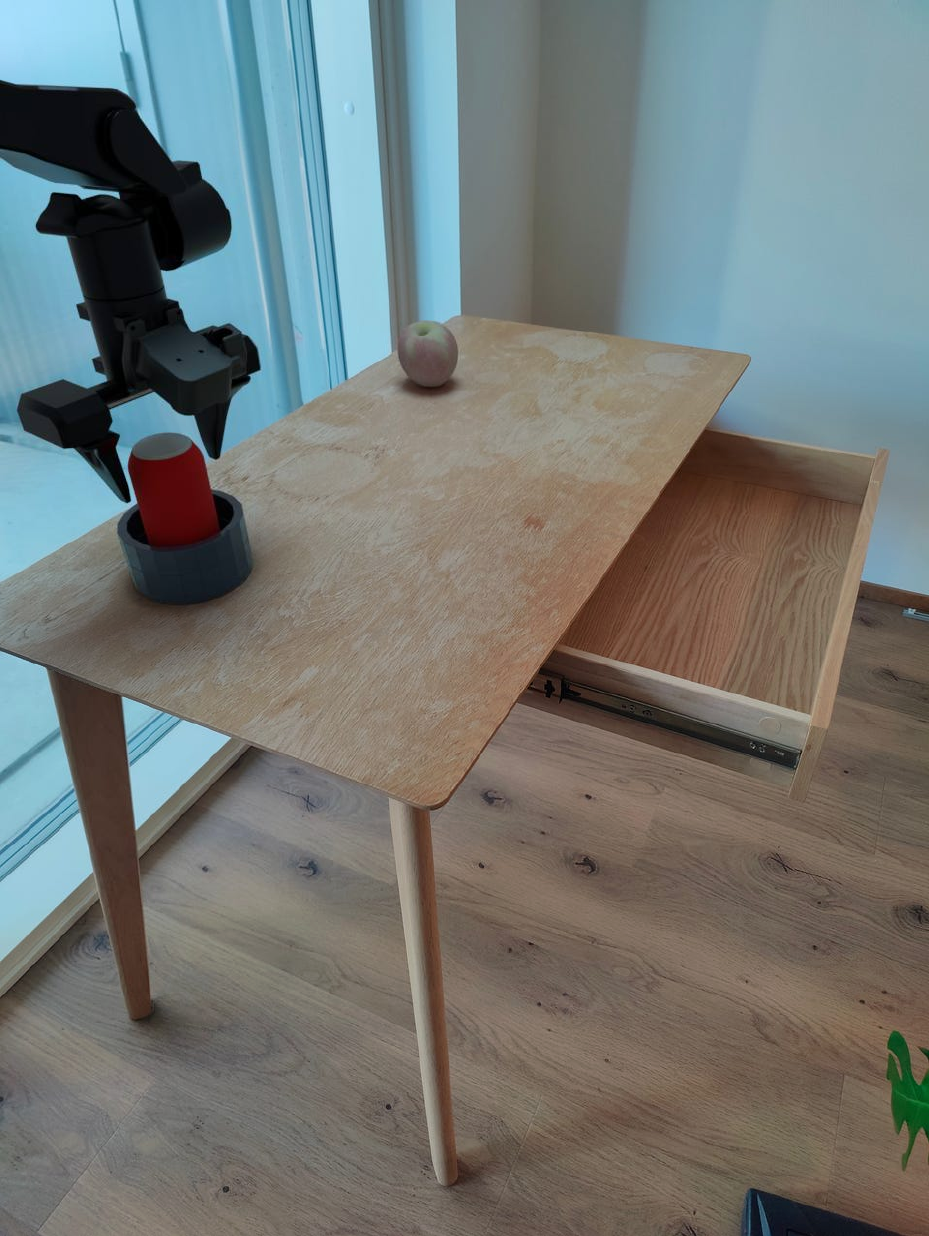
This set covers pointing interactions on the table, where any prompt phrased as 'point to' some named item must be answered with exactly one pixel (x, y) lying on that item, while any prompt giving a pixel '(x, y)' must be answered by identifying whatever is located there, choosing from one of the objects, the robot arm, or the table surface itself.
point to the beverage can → (172, 490)
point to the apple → (428, 353)
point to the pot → (189, 557)
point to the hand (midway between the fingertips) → (171, 478)
